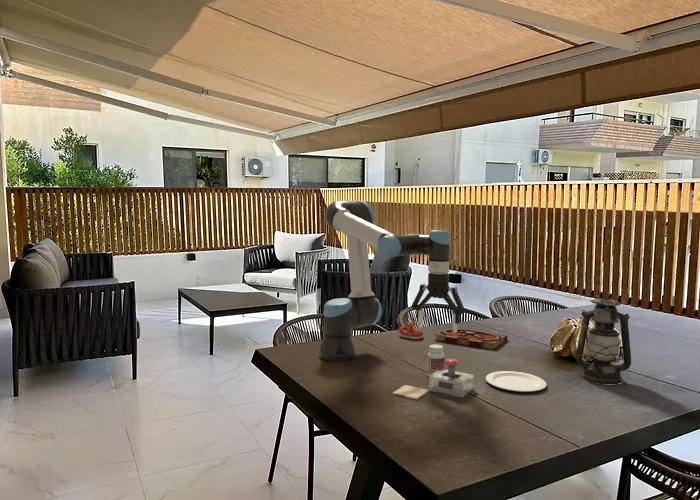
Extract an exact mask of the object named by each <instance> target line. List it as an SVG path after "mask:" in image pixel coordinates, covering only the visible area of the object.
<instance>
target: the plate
mask: <svg viewBox="0 0 700 500" xmlns="http://www.w3.org/2000/svg"><path fill="white" fill-rule="evenodd" d="M485 381H486V382H487V383H488V384H490V386H493V387H495V388H498V389H500V390H504V391H509V392H517V393H535V392H539V391H543V390H544V389H546V388H547V385H548V384H547V382H546V381H545V380H544V379H542V378H541V377H539V376H536V375H534V374H531V373H526V372H522V371H521V372H520V371H511V370H510V371H509V370H500V371H493V372H490V373H489V374H487V375H486V376H485Z"/></svg>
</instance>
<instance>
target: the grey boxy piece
mask: <svg viewBox="0 0 700 500" xmlns="http://www.w3.org/2000/svg"><path fill="white" fill-rule="evenodd" d="M428 377H429V379H428V380H429V381H428V390H429V391H430V392H435V393H441V394H445V395H449V396H453V397H458V398H465V396H466V395H467V394H468V393H470V392H471V391H472V390H473V389H474V374H473V373H467V372H462V371H457V370H455V378H452V377H448V368H447V369H446V368H444V369H442V368H441V369H439V370H438V371H436V372H435V373H433V374H432V375H430V376H428Z"/></svg>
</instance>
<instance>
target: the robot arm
mask: <svg viewBox="0 0 700 500" xmlns="http://www.w3.org/2000/svg"><path fill="white" fill-rule="evenodd" d="M324 221H325V223H326V224H327V226H329V227H330V228H331V229H333V230H334V231H337V232H342V233H343V234H344V235H345V237H346V239H347V240H346V241H347V253H348V254H347V255H348V267H349V268H348V269H349V278H350V293H349V294H348V296H347V297H346V298H345V297H340V298H339V297H338V298H333V299H331V300H328V301H326V302H325V303H324V305H323V338H322V342H321V345H320V347H319V351H318V352H319V355H318V356H319V357H320V358H321V359H322V360H327V361H332V362H333V361H334V362H342V361H344V362H345V361H349V360H352V359H355V357H356V348H355V345H354V342H353V337H352V336H353V335H352V333H353V332H352V331H353V330H354V329H357V328H362V327H370V326H373V325H375V324H376V323H378V322H379V321H380V319H381V317H382V314H383V311H382V310H383V308H382V303H381V302H380V301H379V299H378V298H376V294H375V293H374V292H373V291H372V285H371V273H370V272H371V271H370V260H369V259H370V258H369V247H368V246H369V245H370V246H371V247H373V248H376V249H377V250H378V252H379V254H380V255H381V256H383V257H385V258H386V257H387V258H394V257H402V256H415V255H420V256H421V255H423V256H428V265H427V266H428V267H427V269H428V275H427V283H428V284H426V283H421V284H420V285H419V290H418V292H417V294H416V296H415V297H414V300H413V302H412V303H411V308H412V309H415V311H416V313H415V318H416V319H417V328H418V329H421V328H423V327H424V309H422V308H423V307H424V306H425V305H426V304H427V303H428V302H429V300H430V299H431V298H433V299H434V298H435V299H436V298H437V299H443V300H444V301H445V303H446V304H447V305H448V306H449V308H450V309H451V310H452V312H453V315H452V328H453V333H456V332H457V329H458V325H459V324H460V323H461V315H464V314H465V313H466V309H465V307H464V304H463V302H462V300H461V298H460V295H459V292H458V287H457V286H454V287H450V285H449V284H450V274H449V272H450V252H451V251H450V248H451V236H450V235H451V234H450V231H449V230H444V229H443V230H442V229H441V230H440V229H431V230H430V231H429V232H428V234H419V233H409V234H408V233H407V234H403V235H401V234H400V235H399V234H394V233H392V232H390V231H388V230H387V229H384V228H382V227H379V226H377V225H375V224H374V222H375V212H374V209H373V207H372V206H371V205H370V204H369V203H367V202H366V201H361V200H338V201H333V202H331V203H330V204H329V205H328V206H327V207H326V208H325V211H324ZM426 290H427V291H428V292H427V294H426V296H425V297H424V298H423V299H422V297H423V295H424V293H425V291H426ZM449 292H450V293H451V295H452V297H453V300H454V301H453V300H452V298H451V296H450V294H449ZM420 300H421V301H420Z"/></svg>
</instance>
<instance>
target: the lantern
mask: <svg viewBox="0 0 700 500" xmlns="http://www.w3.org/2000/svg"><path fill="white" fill-rule="evenodd" d="M590 303H592V304H595V306H594V308H593V309H592V310H588V311H586V310H584V309H583V310H582V312H581V316H582V321H581V325H580V326H581V327H580V331H579V337H578V341H577V345H576V346H577V347H576V351H575V352H576V353H575V356H574V358H575V362H576V364H578V365H579V366H580V367H581V368H583V369H582V371H581V372H580V374H579V377H580V376H581V377H582V378H584V379H585V380H584V379H583V380H584V381H586V380H588V381H591V382H594V383H593V384H595V383H599V384H598V385H601V384H618V383H621V382H622V381H623V378H622V376H621V374H622V373H621V372H624V371H626V370H628V369H630V367H631V364H632V356H631V354H632V353H631V344H630V343H631V341H630V331H629V328H630V327H629V319H630V315H629V314H628V313H627V312H626V314H624V313H622V312H619V311H618V308H617V306H621V305H623V304H622V302H621V301H618V300H615V299H610V298H594V299H592V300H590ZM591 320H592V321H593V322H594V327H591V328H590V329H589V325H590V321H591ZM617 323H619V325H620V332H621V333H620V332H618V330H617V329H615V324H617ZM620 334H621V341H620ZM621 344H622V345H621ZM585 345H586V346H585ZM620 345H621V346H620ZM585 347H586V350H587V353H588V354H586V353H584V350H585ZM617 357H618V359H617ZM586 358H587V359H588V360H591V361H592V360H593V361H592V362H588V361H586V360H584V359H586ZM619 361H623V363H622V364H617V365H616V364H615V365H612V364H611V363H618V362H619ZM581 377H580V378H581ZM582 378H581V379H582ZM588 381H587V382H588ZM591 382H590V383H591ZM623 382H624V381H623Z"/></svg>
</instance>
